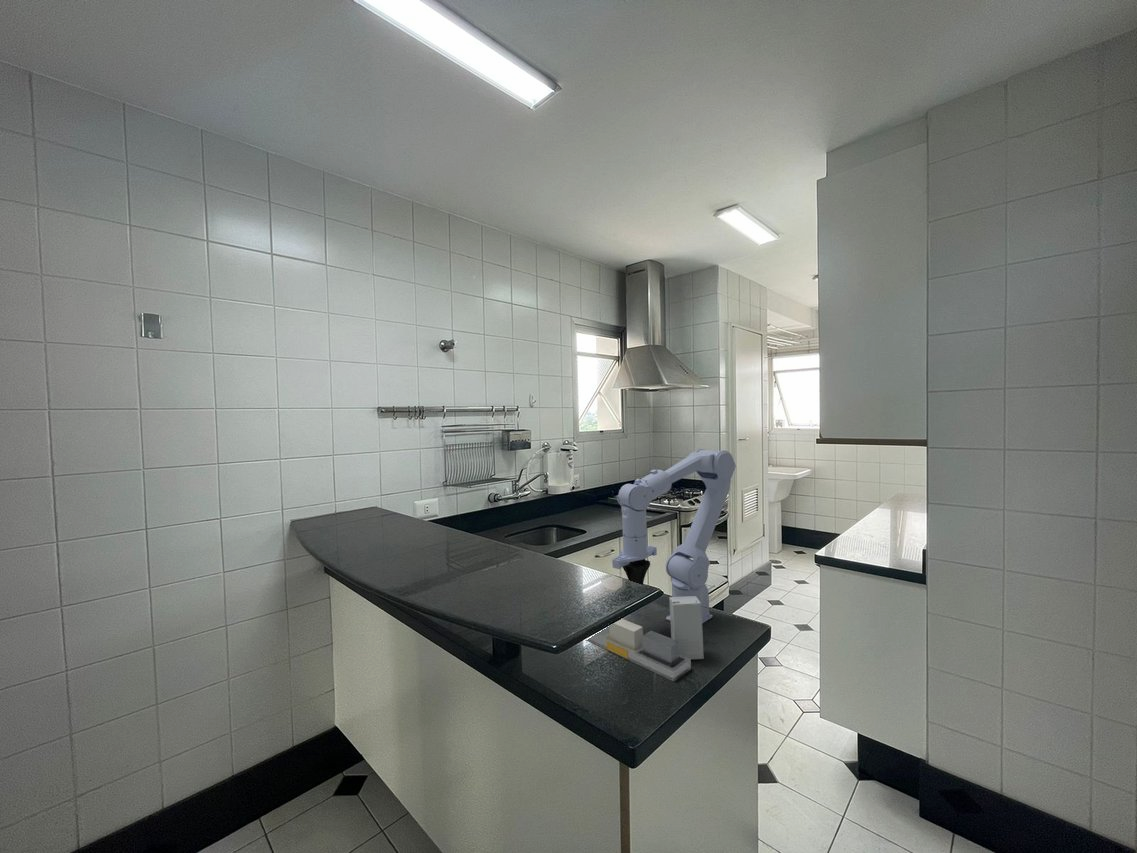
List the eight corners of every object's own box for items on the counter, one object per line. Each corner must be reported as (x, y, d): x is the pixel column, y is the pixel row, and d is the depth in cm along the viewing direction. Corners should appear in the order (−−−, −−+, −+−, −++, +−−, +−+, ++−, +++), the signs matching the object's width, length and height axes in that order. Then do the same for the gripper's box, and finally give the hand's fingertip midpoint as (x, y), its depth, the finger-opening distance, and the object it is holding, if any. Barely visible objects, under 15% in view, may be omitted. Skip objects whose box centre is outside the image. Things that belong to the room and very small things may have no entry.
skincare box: (698, 649, 96) (696, 594, 96) (704, 660, 91) (702, 603, 91) (670, 650, 96) (668, 595, 96) (675, 661, 91) (673, 603, 91)
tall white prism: (618, 638, 100) (618, 617, 100) (643, 649, 95) (642, 626, 95) (610, 643, 98) (609, 621, 98) (634, 655, 93) (634, 631, 93)
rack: (589, 624, 109) (588, 602, 109) (690, 669, 88) (690, 641, 88) (571, 633, 105) (570, 610, 105) (673, 682, 84) (672, 653, 84)
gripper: (639, 526, 112) (641, 579, 112) (601, 537, 102) (603, 595, 102) (663, 530, 107) (664, 586, 107) (625, 543, 97) (627, 604, 97)
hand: (636, 591), depth 104 cm, fingers closed
